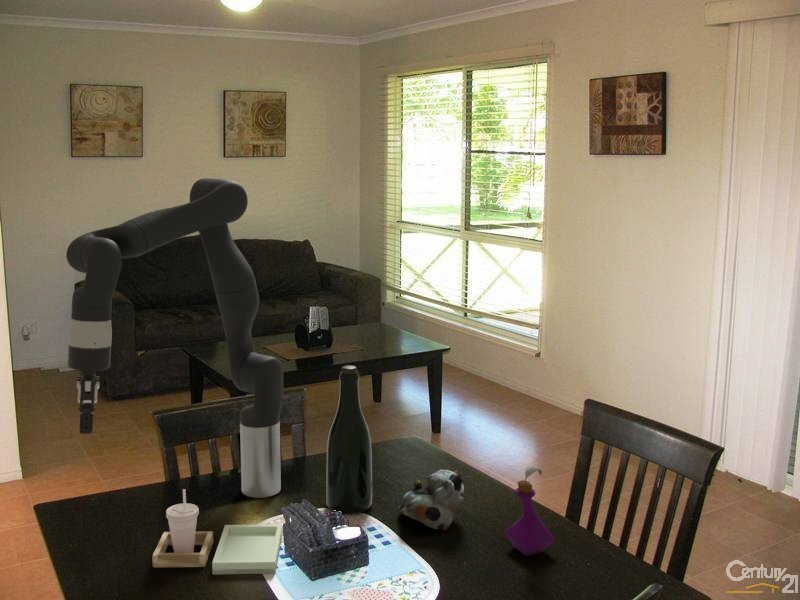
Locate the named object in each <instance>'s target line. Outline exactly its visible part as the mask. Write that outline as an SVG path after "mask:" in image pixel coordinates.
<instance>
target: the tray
mask: <svg viewBox="0 0 800 600" xmlns="http://www.w3.org/2000/svg"><path fill="white" fill-rule="evenodd" d="M282 533H283V524H224V527H223V531H222V533H221V536H220V538H219V542H218V545H217V547H216V551H215V554H214V557H213V560H212V563H211V564H212V568H211V569H212V570H211V572H212V575H259V574H260V575H262V574H264V573H273V574H277V573H276V572H277V567H278V561H279V556H280V550H281V545H282V540H283V535H282Z"/></svg>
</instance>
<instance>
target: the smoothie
mask: <svg viewBox="0 0 800 600" xmlns="http://www.w3.org/2000/svg"><path fill="white" fill-rule="evenodd" d="M186 491H187V490H186V488H183V489H182V502H183V503H182V502H181V503H177V504H174V505H171V506H169V507H168V508H167V509H166V510H165V513H166V514H165V518H166V519H167V521H168V527H169V532H170V533H171V538H172V544H173V545H172V549H173V553H195V545H194V544H195V534H196V530H197V522H198V515H200V511H199V510H200V509H199V508H200V507H198V505H196V504H193V503H187V496H186V495H187V493H186Z"/></svg>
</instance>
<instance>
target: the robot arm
mask: <svg viewBox="0 0 800 600" xmlns="http://www.w3.org/2000/svg"><path fill="white" fill-rule="evenodd" d="M248 199H249V198H248V193H247V192H246V190H245V188H244V187H243V185H242V184H240V183H239V182H236V181H234V180H231V179H226V178H225V179H223V178H213V177H212V178H209V177H203V178H199V179H198V180H196V181H195V182H194V183H193V184H192V187H191V189H190V193H189V202H187V203H183V204H181V205H180V204H179V205H175V206H171V207H167V208H162V209H157V210H153V211H149V212H147V213H144V214H142V215H138V216H136V217H133V218H131V219H129V220H126V221H124V222H122V223H120V224H118V225H114V226H110V227H105V228H102V229H98V230H93V231H90V232H86V233H83V234H81V235H79V236H77V237H76V238H74V239H73V240H72V241H71V242H70V243H69V244H68V247H67V250H66V253H65V254H66V255H65V256H66V257H65V258H66V261H67V264H68V265H69V266H70V267H71V268H72V269H74V270H75V271H77V272H80V273H83V274H85V278H84V282H83V285H82V286H81V287H78V288H76V289H74V291H73V292H72V298H71V315H70V316H71V319H70V324H69V331H68V351H67V353H68V354H67V366H68V368H70V369H71V370H75V371H81V373H82V375H77V379H76V380H77V381H76V388H77V403H78V404H79V407H78V412H79V414H80V415H79V433H80V435H81V434H82V435H85V434H86V435H89V434H90V435H91V434H92V433H93V426H94V414H95V410H96V408H95V404H96V403H98V393H99V391H98V390H99V389H100V380H101V378H100V376H98V375H96V374H97V371H104V370H108V369H109V368H110V367H111V360H112V359H111V357H112V341H113V340H112V339H113V330H112V329H113V328H112V312H113V311H112V308H113V306H112V305H113V296H114V293H115V290H116V288H117V284H118V281H119V279H120V278H119V277H120V275H121V270H122V264H123V259H134V258H139V257H140V256H143V255H145V254H147V253H150V252H151V251H154V250H155V249H158V248H159V247H162V246H164V245H167V244H169V243H171V242H173V241H176V240H178V239H181V238H183V237H186V236H188V235H191V234H194V233H197V232H198V233H199V236H200V239H201V242H202V245H203V247H204V252H205V256H206V260H207V263H208V267H209V272H210V276H211V279H212V285H213V289H214V294H215V298H216V302H217V305H218V308H219V312H220V316H221V317H220V318H221V322H222V326H223V331H224V335H225V340H226V348H227V357H228V364H229V365H228V366H229V371H230V376H231V380H232V382H233V384H234V386H235V387H236V389H238V390H239V391H242V392H245V393H249V394H253V395H254V396H253V397H254V398H253V404H251V405H246V406H245V407H243V408H242V409H241V410H240V413H239V432H240V433H239V434H240V435H239V436H240V471H241V473H240V475H241V476H240V478H241V481H240V482H241V485H240V486H241V493H242V494H243V495H244V496H246V497H250V498H255V499H256V498H257V499H259V498H260V499H262V498H269V497H273V496H275V495H277V494H279V493H280V491H281V489H282V488H281V487H282V485H281V484H282V482H281V478H282V477H281V474H282V473H281V433H280V432H281V429H280V427H281V425H280V423H281V421H280V419H281V418H280V417H281V416H280V415H281V412H282V408H283V402H284V401H283V400H284V380H285V379H284V369H283V368H284V367H283V365H282V363H281V361H280V360H279V359H278V358H276V357H274V356H271V355H265V354H260V353H257V352H256V349H255V346H254V341H253V336H252V329H253V324H254V321H255V319H256V317H257V316H256V315H257V313H258V311H259V307H260V295H259V291H258V287H257V281H256V278H255V277H256V276H255V274H254V271H253V269H252V267H251V266H250V264H249V262H248V261H247V259H246V258H245V256H244V255H243V253H242V252H241V250H240V249H239V248H238V246H237V244H236V243H235V242H234V239H233V237H232V235H231V232H230V229H229V224H231V223H234V222H236V221H238V220H239V219H241V218H242V216H244V214H245V212H246V210H247V209H248Z"/></svg>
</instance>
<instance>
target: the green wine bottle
mask: <svg viewBox="0 0 800 600" xmlns="http://www.w3.org/2000/svg"><path fill="white" fill-rule="evenodd" d="M338 377H339V397H338V398H339V399H338V404H337V405H338V406H337V410H336V413H335V416H334V419H333V422H332V423H331V426H330V429H329V432H328V436H327V443H326V446H327V447H326V475H325V476H326V482H325V483H326V485H325V486H326V490H325V491H326V492H325V493H326V494H325V495H326V499H325V500H326V506H327V508H328V509H330V510H331V511H332V510H336V511H341V512H342V513H343V515H354V514H359V513H360V514H361V513H363V512H365V511H367V510H368V509H370V507H371V506H372V503H373V469H372V468H373V465H372V464H373V462H372V461H373V459H372V457H373V456H372V439H371V436H370V429H369V427H368V424H367V422H366V419H365V417H364V414H363V412H362V408H361V401H360V385H359V383H360V382H359V381H360V374H359V371H358V367H357V366H355V365H350V364H348V365H344V366H342V367H341V371H340V373H339V376H338Z"/></svg>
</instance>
